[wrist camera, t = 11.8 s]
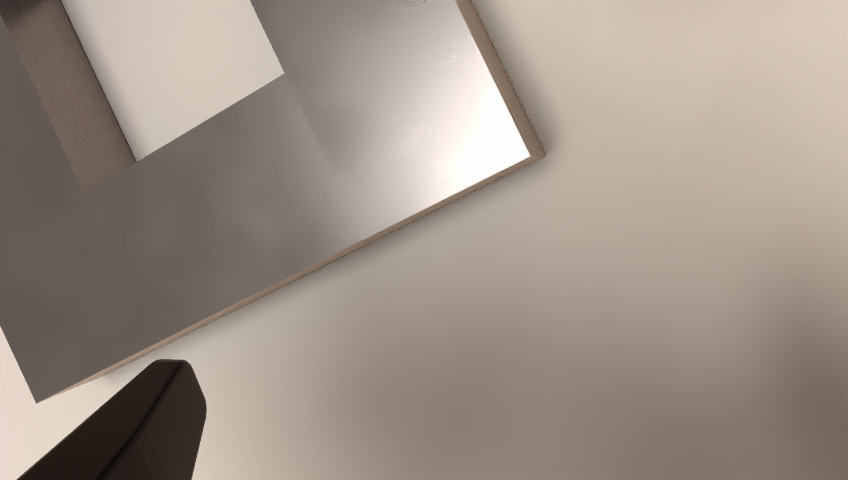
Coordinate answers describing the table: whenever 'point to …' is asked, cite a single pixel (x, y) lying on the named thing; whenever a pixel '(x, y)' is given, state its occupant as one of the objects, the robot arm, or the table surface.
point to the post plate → (231, 173)
